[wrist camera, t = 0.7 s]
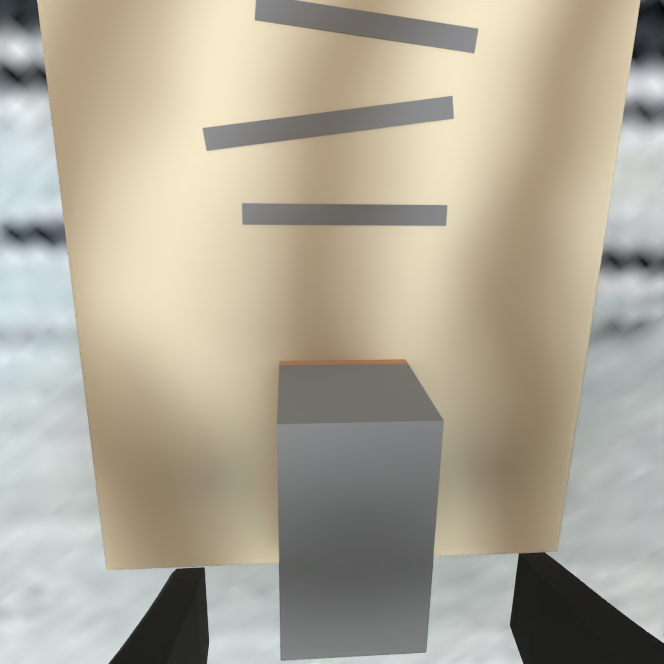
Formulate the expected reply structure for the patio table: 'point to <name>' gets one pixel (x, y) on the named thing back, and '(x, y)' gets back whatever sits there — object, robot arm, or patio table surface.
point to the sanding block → (355, 507)
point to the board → (331, 243)
